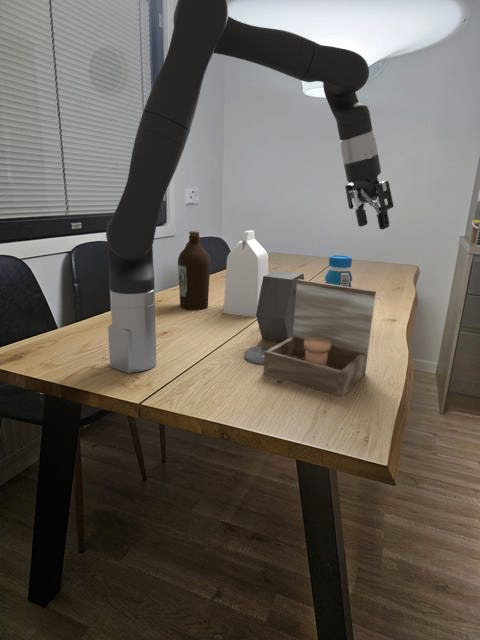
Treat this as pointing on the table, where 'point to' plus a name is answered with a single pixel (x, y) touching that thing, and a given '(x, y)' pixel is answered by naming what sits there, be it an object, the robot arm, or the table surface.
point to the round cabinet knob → (317, 350)
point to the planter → (277, 305)
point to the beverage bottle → (339, 270)
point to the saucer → (255, 354)
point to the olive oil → (194, 275)
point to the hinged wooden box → (326, 337)
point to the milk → (245, 276)
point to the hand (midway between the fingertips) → (373, 226)
